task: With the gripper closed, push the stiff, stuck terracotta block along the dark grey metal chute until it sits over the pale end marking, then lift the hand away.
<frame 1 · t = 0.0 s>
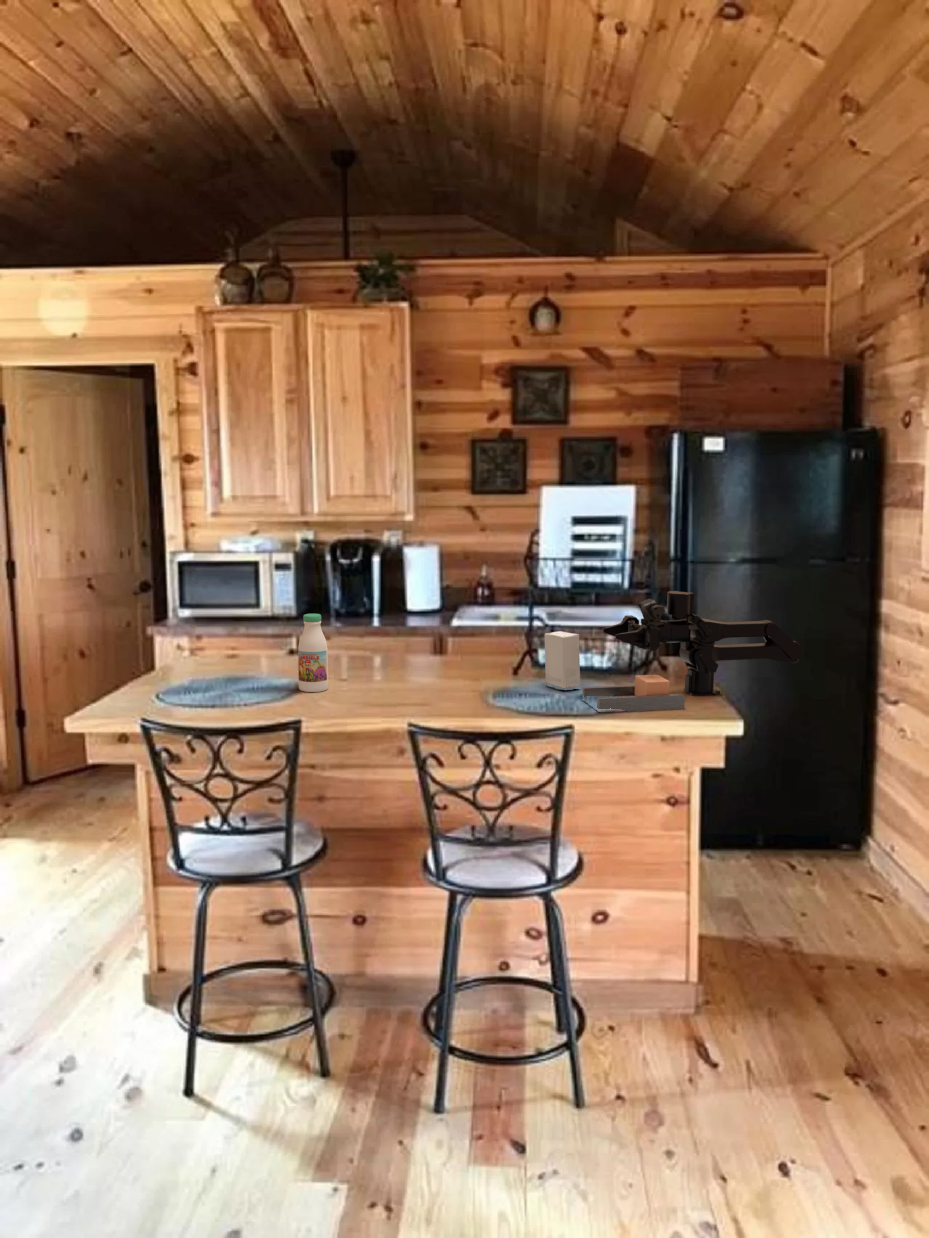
hand: (609, 633, 264), 17 cm above the table, tool horizontal, fingers open, 9 cm apart
milk bottle: (313, 690, 274), on the table
skincare box: (561, 688, 277), on the table
chute: (632, 704, 259), on the table
jammed block: (651, 688, 259), point 4 cm above the table, slide at 0.0 cm
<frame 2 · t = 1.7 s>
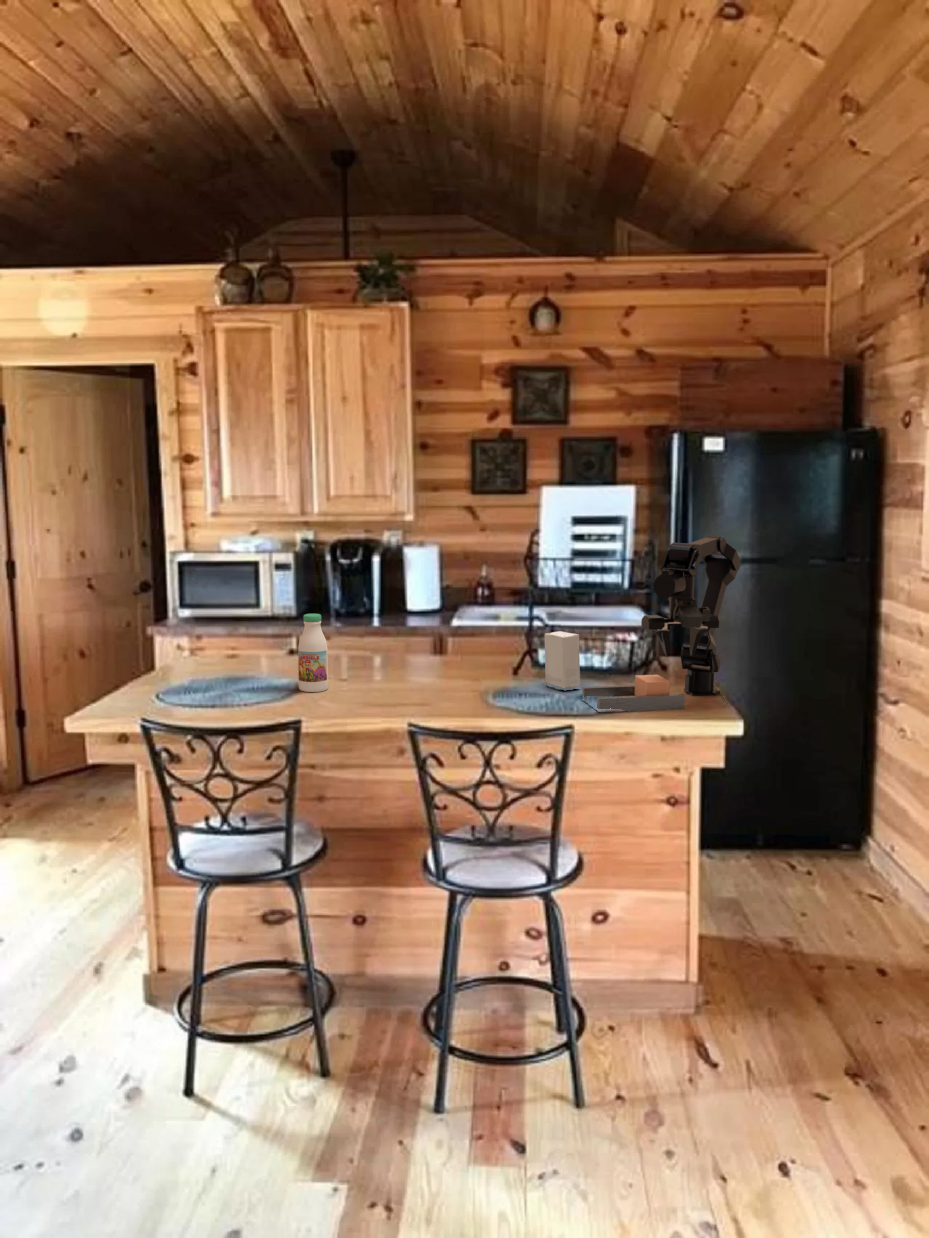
hand: (679, 655, 259), 12 cm above the table, tool pointing down, fingers open, 6 cm apart
nothing on the table moved.
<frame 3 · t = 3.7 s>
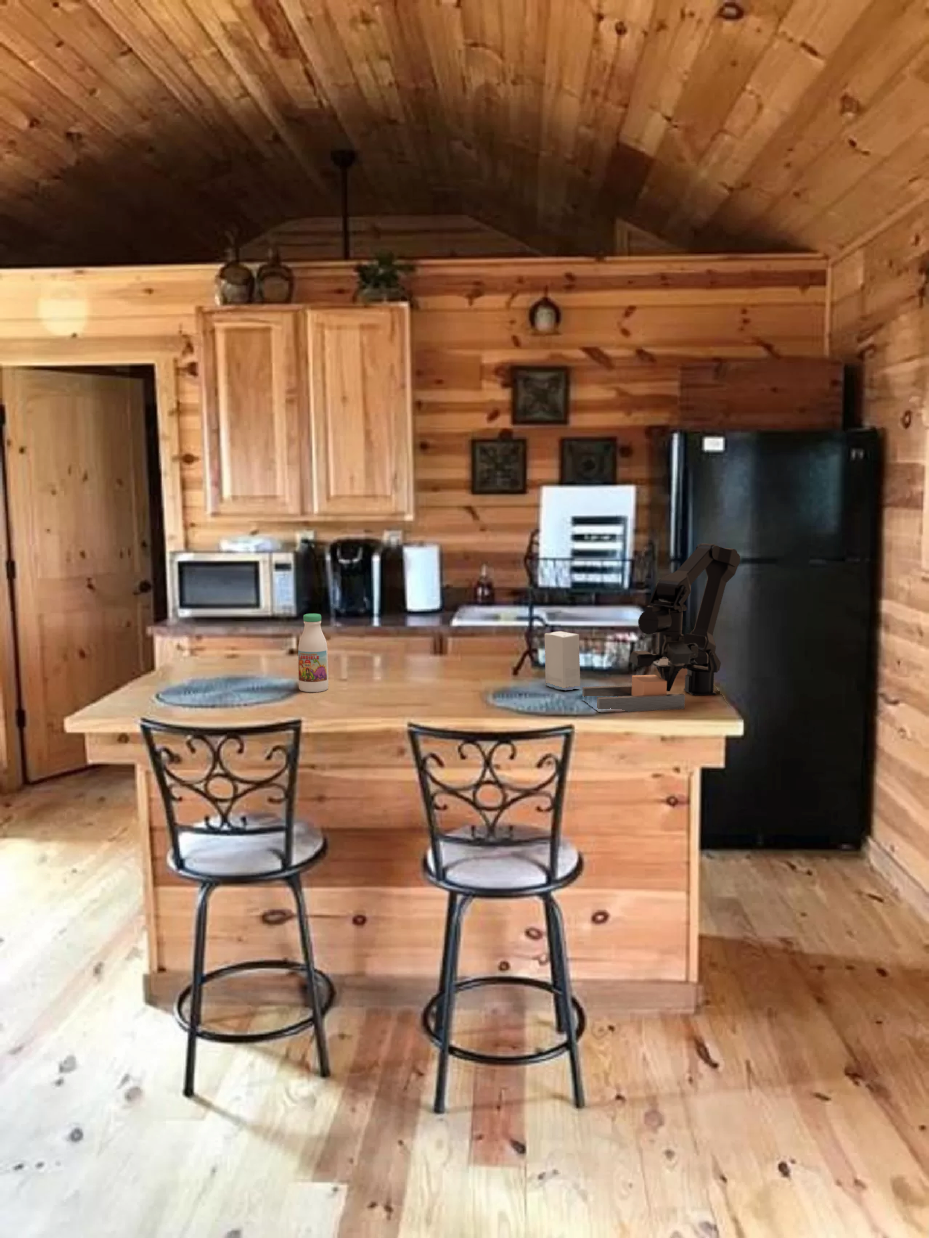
hand: (667, 691, 260), 3 cm above the table, tool pointing down, fingers closed
jammed block: (648, 688, 259), point 4 cm above the table, slide at 0.8 cm, touching gripper
everything else where it was.
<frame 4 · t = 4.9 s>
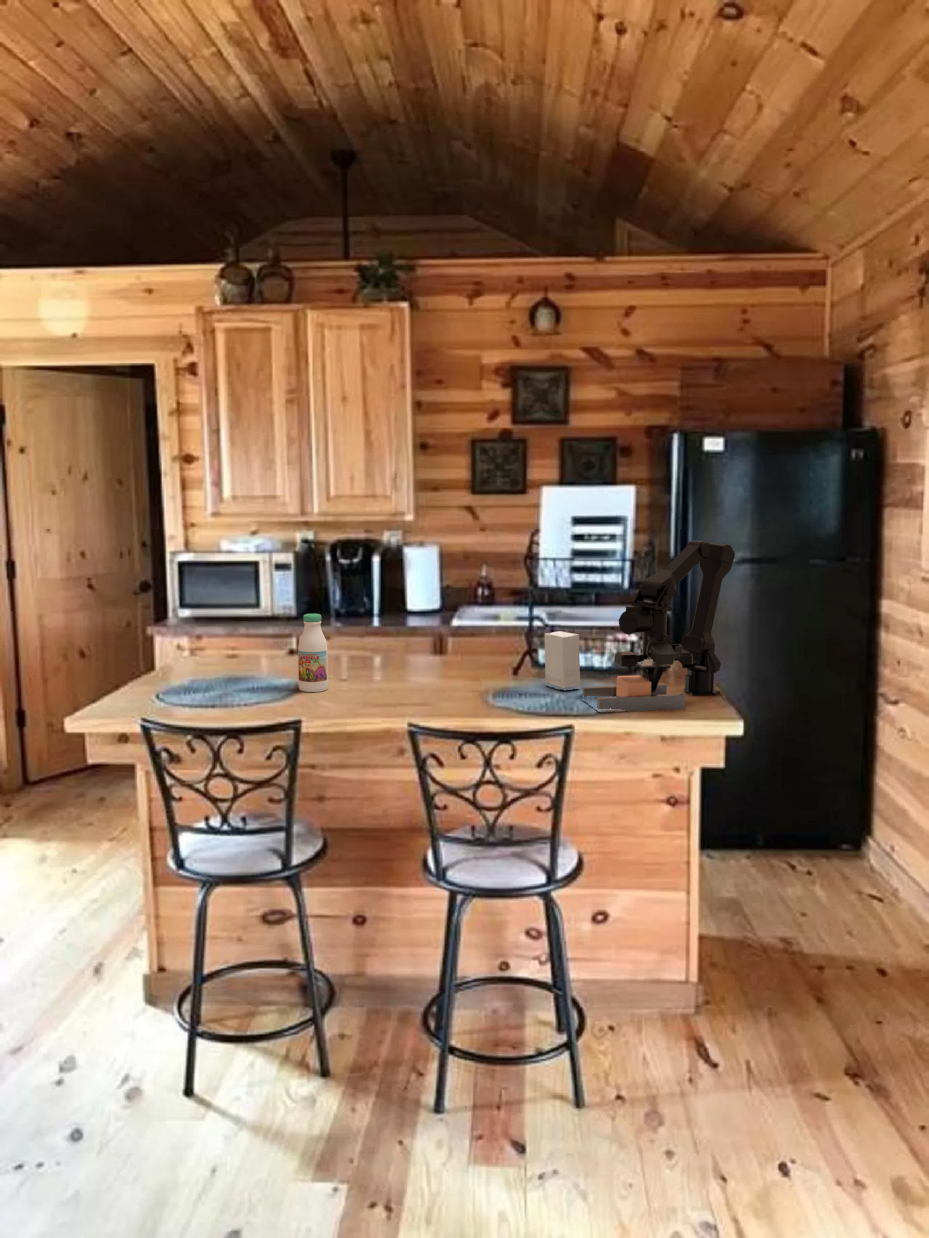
hand: (652, 691, 259), 3 cm above the table, tool pointing down, fingers closed
jammed block: (633, 689, 258), point 4 cm above the table, slide at 4.9 cm, touching gripper
everything else where it was.
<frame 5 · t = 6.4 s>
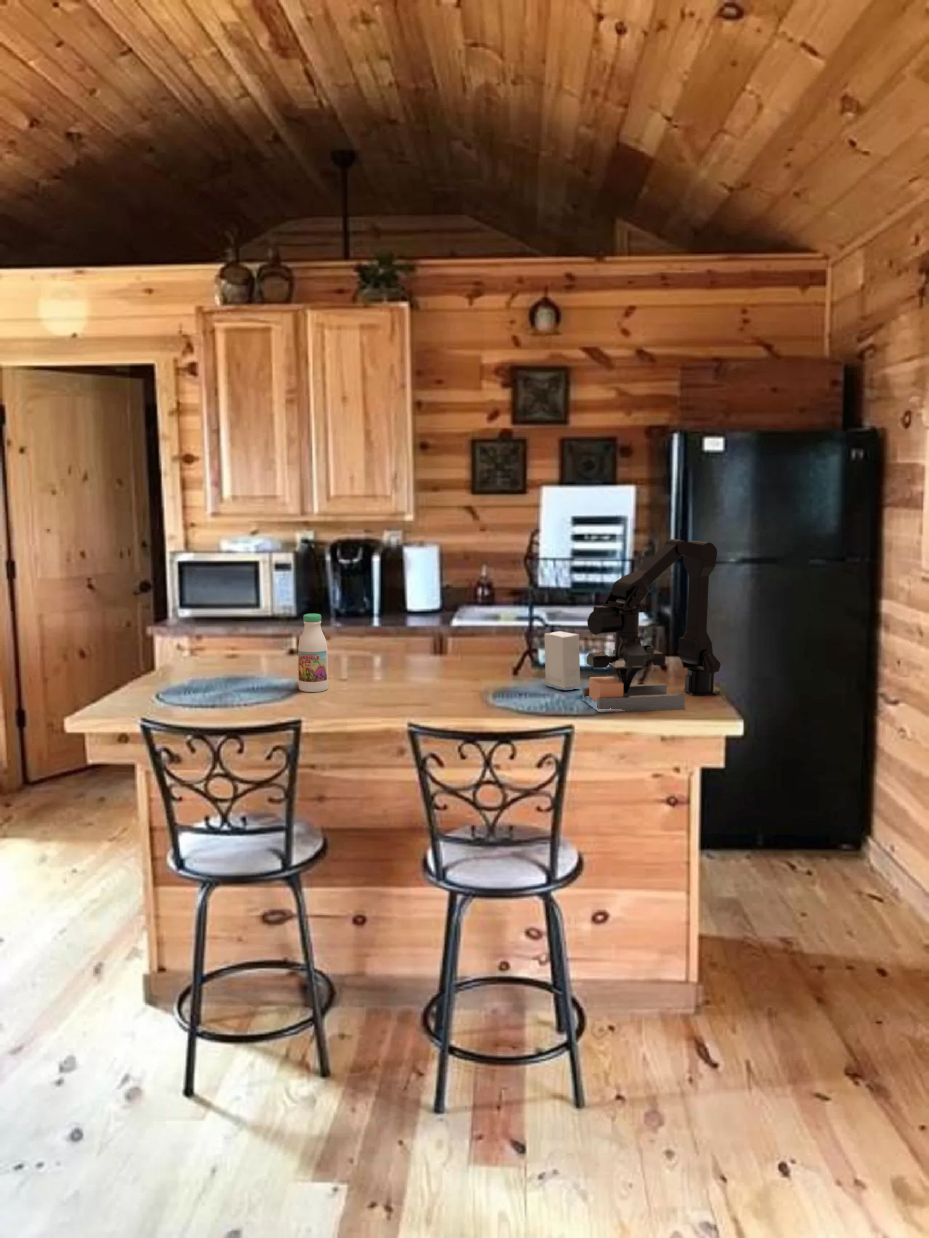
hand: (625, 692, 258), 3 cm above the table, tool pointing down, fingers closed
jammed block: (606, 690, 257), point 4 cm above the table, slide at 12.0 cm, touching gripper
everything else where it was.
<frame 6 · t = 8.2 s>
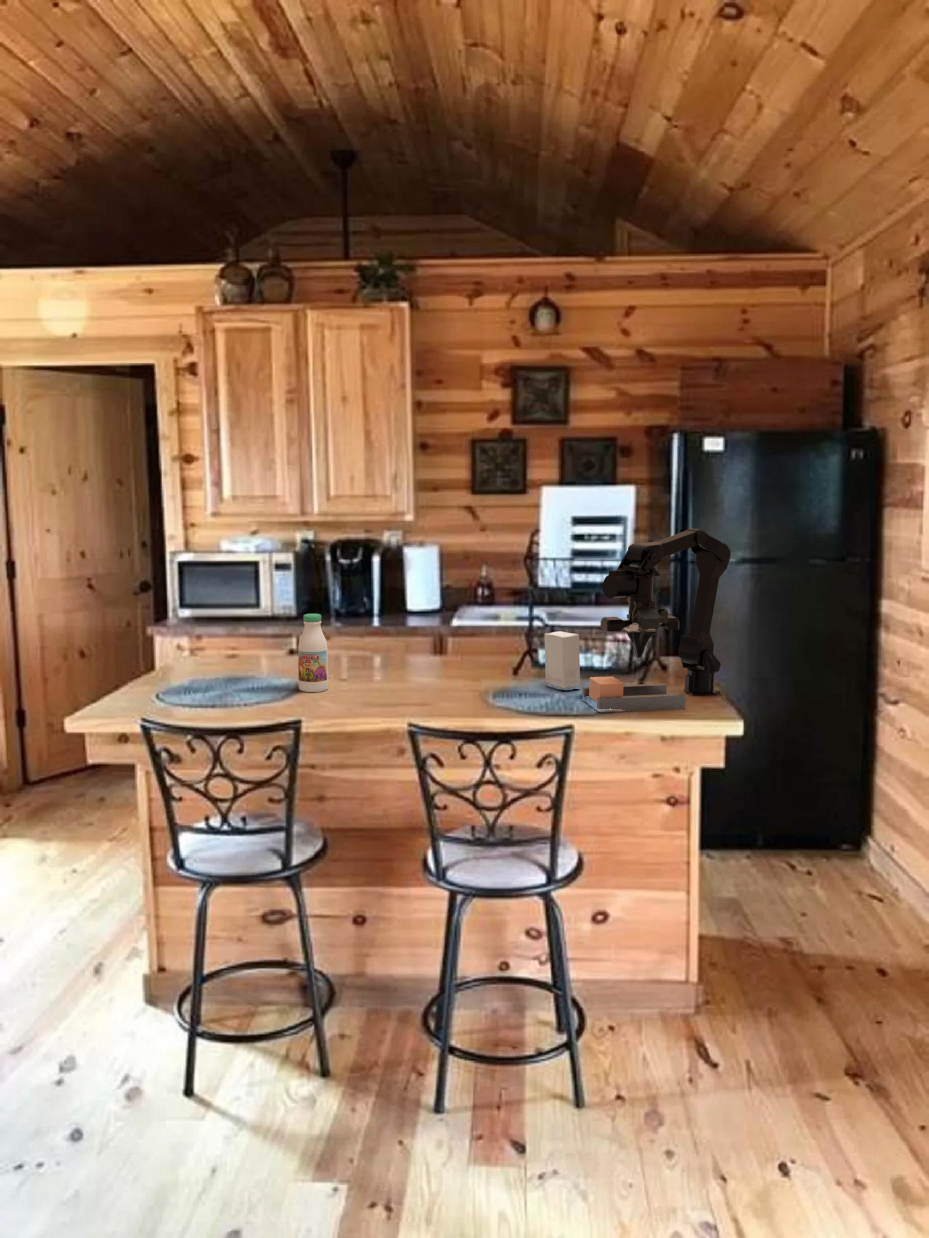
hand: (638, 657, 258), 12 cm above the table, tool pointing down, fingers closed
jammed block: (606, 690, 257), point 4 cm above the table, slide at 12.0 cm
everything else where it was.
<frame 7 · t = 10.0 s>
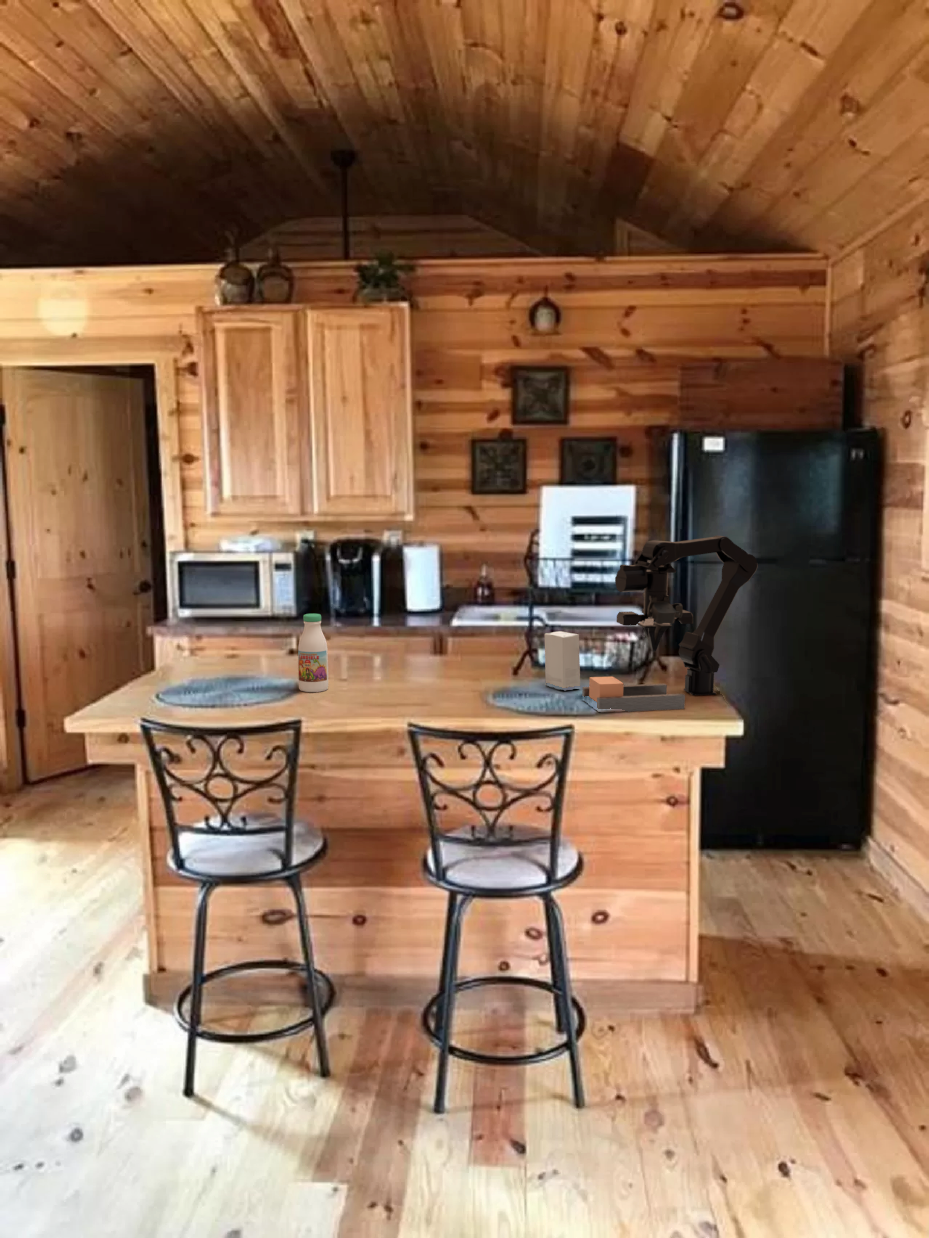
hand: (653, 651, 265), 12 cm above the table, tool pointing down, fingers closed
nothing on the table moved.
at the end: jammed block slide at 12.0 cm; skincare box moved 0.2 cm from its start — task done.
